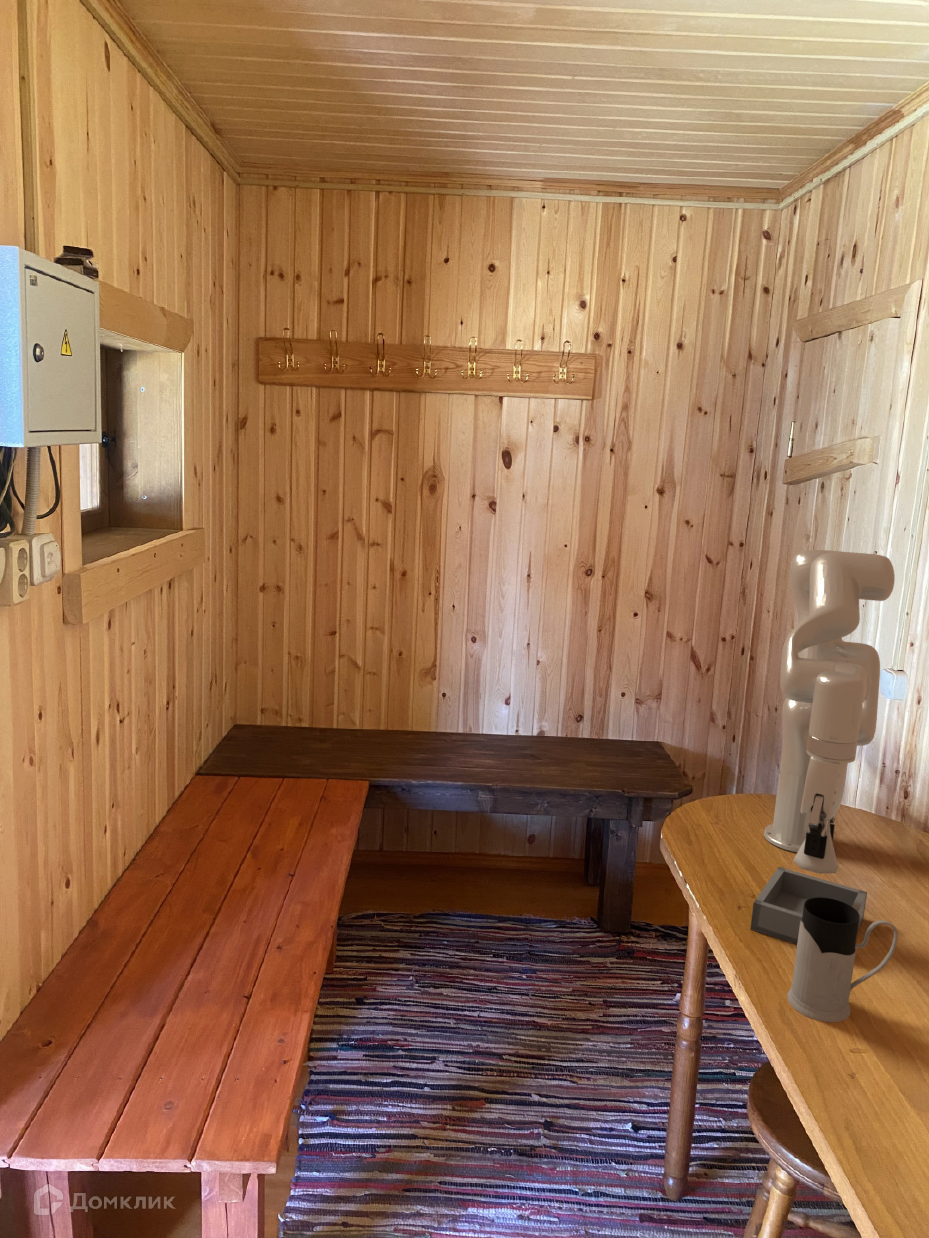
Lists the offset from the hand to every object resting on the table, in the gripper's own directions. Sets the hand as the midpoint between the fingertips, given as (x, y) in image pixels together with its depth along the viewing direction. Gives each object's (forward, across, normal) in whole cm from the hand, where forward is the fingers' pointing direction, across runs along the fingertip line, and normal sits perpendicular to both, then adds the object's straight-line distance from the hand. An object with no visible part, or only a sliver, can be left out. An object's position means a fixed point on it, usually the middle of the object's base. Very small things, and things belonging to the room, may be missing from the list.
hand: (817, 849), depth 154 cm
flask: (+3, 0, 0) cm, 3 cm away
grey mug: (+14, +21, +9) cm, 27 cm away
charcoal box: (+14, 0, 0) cm, 14 cm away
